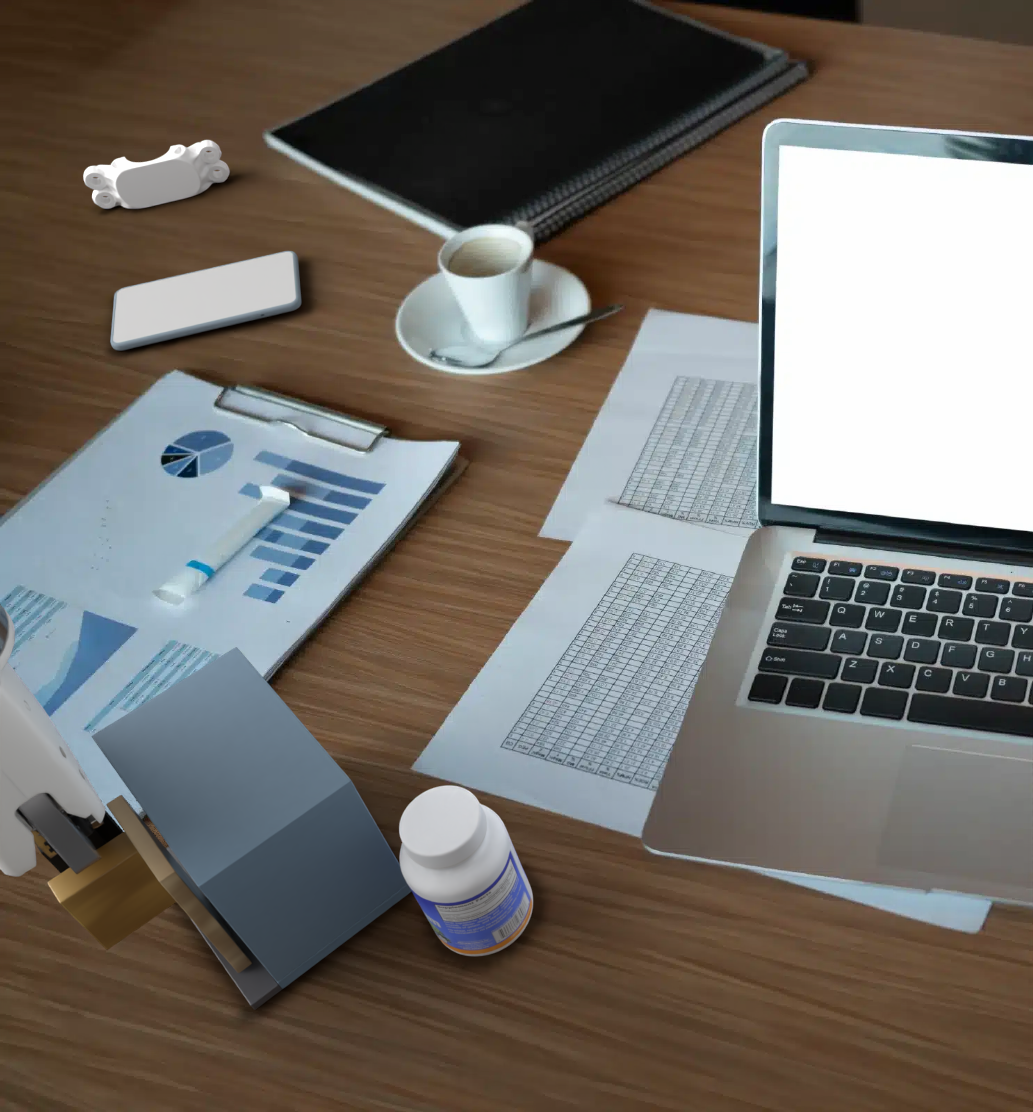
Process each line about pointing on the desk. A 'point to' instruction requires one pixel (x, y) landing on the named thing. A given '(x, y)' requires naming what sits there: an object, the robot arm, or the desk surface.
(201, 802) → the grey-blue hollow box
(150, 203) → the curved bracket
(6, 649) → the robot arm
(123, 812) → the tan piece
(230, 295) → the smartphone
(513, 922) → the pill bottle
